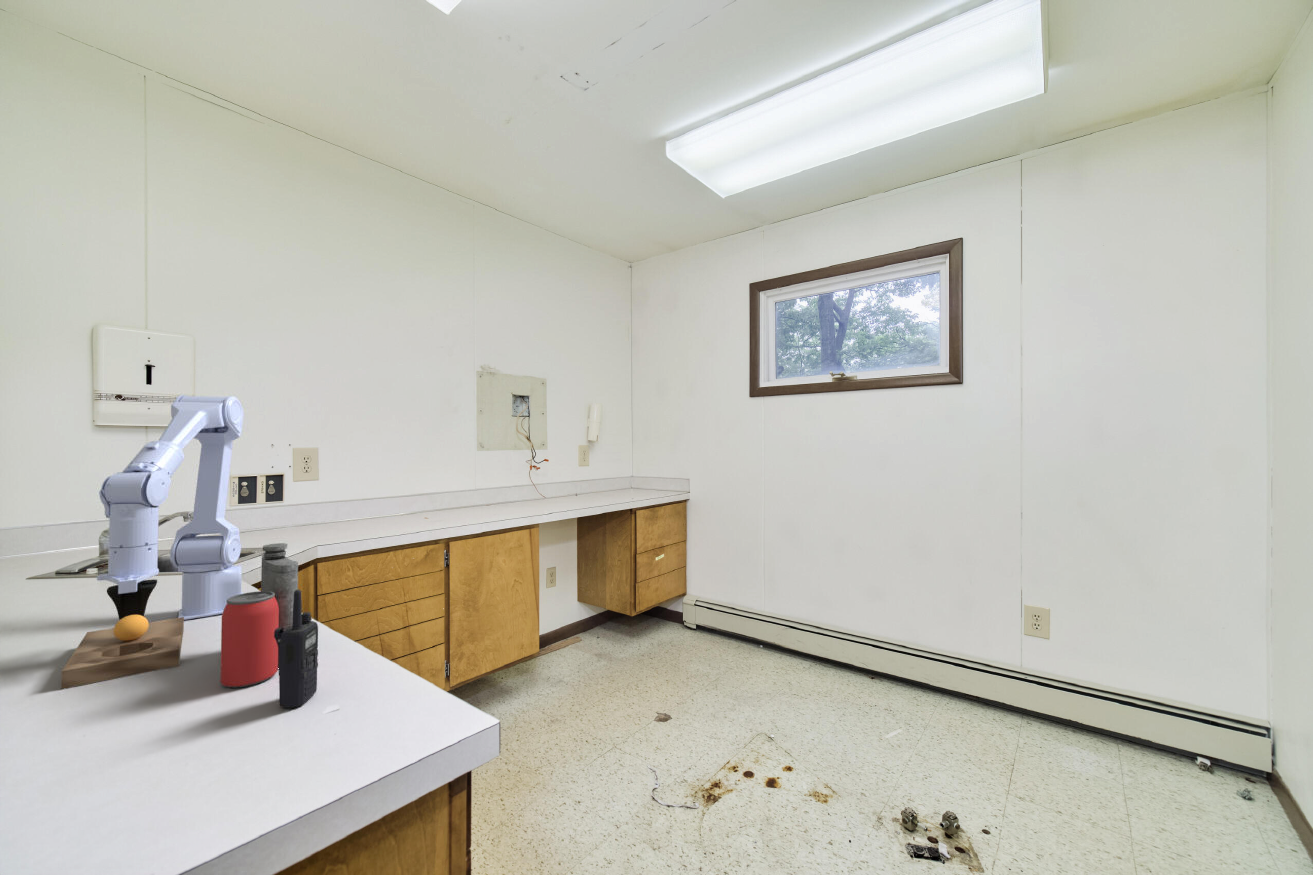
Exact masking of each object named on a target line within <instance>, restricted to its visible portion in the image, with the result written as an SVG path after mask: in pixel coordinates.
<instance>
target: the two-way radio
mask: <svg viewBox="0 0 1313 875" xmlns="http://www.w3.org/2000/svg"><path fill="white" fill-rule="evenodd" d="M302 604H303V602H302V590H301V589H298V590H296V591H295V592H294V602H293V624H292V626H291V627H289V628H287V629H286V630H283V629H284V628H277V629H275V631H274V638H275V640H276V642H277V645H278V653H279V669H278V679H279V680H278V684H279V685H278V686H279V688H278V689H279V693H278V694H279V700H278V701H279V706H280V707H283V709H291V708H298V707H301V706H303V705H304V704H305V703H307V702H308V701H309V700H310V699H311V698H312V697H313V696H314V694H316V692H317V687H318V667H319V662H318V660H319V659H318V658H319V657H318V656H319V649H318V648H319V644H318V643H319V625H318V623H317V621H313V620H312V614H311V612H310V611H305V612H303V609H302V608H303V605H302ZM302 612H303V613H302Z"/></svg>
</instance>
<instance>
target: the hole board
mask: <svg viewBox="0 0 1313 875" xmlns="http://www.w3.org/2000/svg"><path fill="white" fill-rule="evenodd" d="M184 622H185V620H184V617H180V618H178V617H174V618H169V619H163V620H161V619H160V620H156V621H148V623H149V626H148V629H147V631H146V632H145V633H144V634H143V635H142V636H141V637H139V638H137V639H135V640H131V641H123V640H120V639H118V638H116V637H115V635H114V631H113V630H114V627H111V628H105V629H99V630H92V631H88V632H86V634H85V635H84V636H83V637H82V640H80V642H79V644H78V645H77V647H76V649H75V650H74V652H73V653H72V655H70V656H71V657H70V658H69V659H68V660H67V662H66V664H65V666H64V667H63V668H62V670H61V686H60V687H61V690H65V689H64V688H66V689H69V688H70V687H71V688H75V687H74V686H76V687H80V686H86V685H89V684H95V683H101V682H104V681H110V680H113V679H119V678H124V677H130V676H135V675H138V674H144V673H149V672H154V671H158V670H164V669H168V668H174V667H178V666H180V661H181V660H180V658H181V652H182V645H183V638H184V632H185V630H184V625H185V623H184ZM71 688H70V689H71Z"/></svg>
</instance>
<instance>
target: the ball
mask: <svg viewBox="0 0 1313 875" xmlns="http://www.w3.org/2000/svg"><path fill="white" fill-rule="evenodd" d="M148 626H149V620H148V619H147V618H146V617H145V615H144V616H141V615H129V616H126V617H124V618H122V619H121V620H119V619H118V621H117V622H116V623H115V625H114V626H113V628H114V630H113V631H114V635H115V637H116V638H118V639H120V640H123V641H131V640H135V639H137V638H139V637H141V636H142V635H143V634H144V633H145V632H146V631H147V629H148Z"/></svg>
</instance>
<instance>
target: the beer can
mask: <svg viewBox="0 0 1313 875" xmlns="http://www.w3.org/2000/svg"><path fill="white" fill-rule="evenodd" d="M274 596H275V593H274V592H270V591H261V590H260V591H252V592H246V593H244V592H243V594H239V595H235V596H233V597H230V598H228V599H227V604H226V606H225V608H224V610H223V614H221V628H220V629H221V631H220V632H221V633H220V634H221V636H220V637H221V639H220V642H221V644H220V683H221V685H222V686H224V687H226V688H233V689H234V688H235V689H237V688H239V687H240V688H246V686H247V687H251V686H254V685H258V684H261V683H264V682H266V681H268V680H270V679H271V678H273V677H274V676H275V675H276V674H277V672H279V669H278V645H277V642H276V640H275V638H274V631H275V629H277V628H278V627H279V607H278V603H277V601H276V599H275V597H274Z"/></svg>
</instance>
